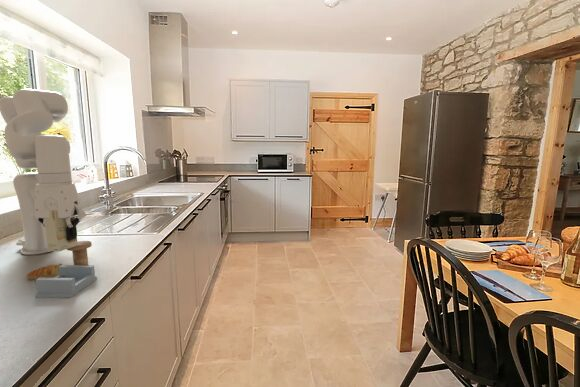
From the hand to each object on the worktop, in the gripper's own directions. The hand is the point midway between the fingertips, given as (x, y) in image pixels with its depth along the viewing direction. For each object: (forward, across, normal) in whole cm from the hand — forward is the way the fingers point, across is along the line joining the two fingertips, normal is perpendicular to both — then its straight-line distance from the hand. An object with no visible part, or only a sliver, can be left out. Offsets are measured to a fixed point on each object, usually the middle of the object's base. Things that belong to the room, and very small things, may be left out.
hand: (62, 238), depth 89 cm
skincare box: (+3, 0, 0) cm, 3 cm away
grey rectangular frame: (+16, 0, 0) cm, 16 cm away
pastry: (+16, -12, +8) cm, 21 cm away
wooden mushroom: (+16, -3, +11) cm, 19 cm away
